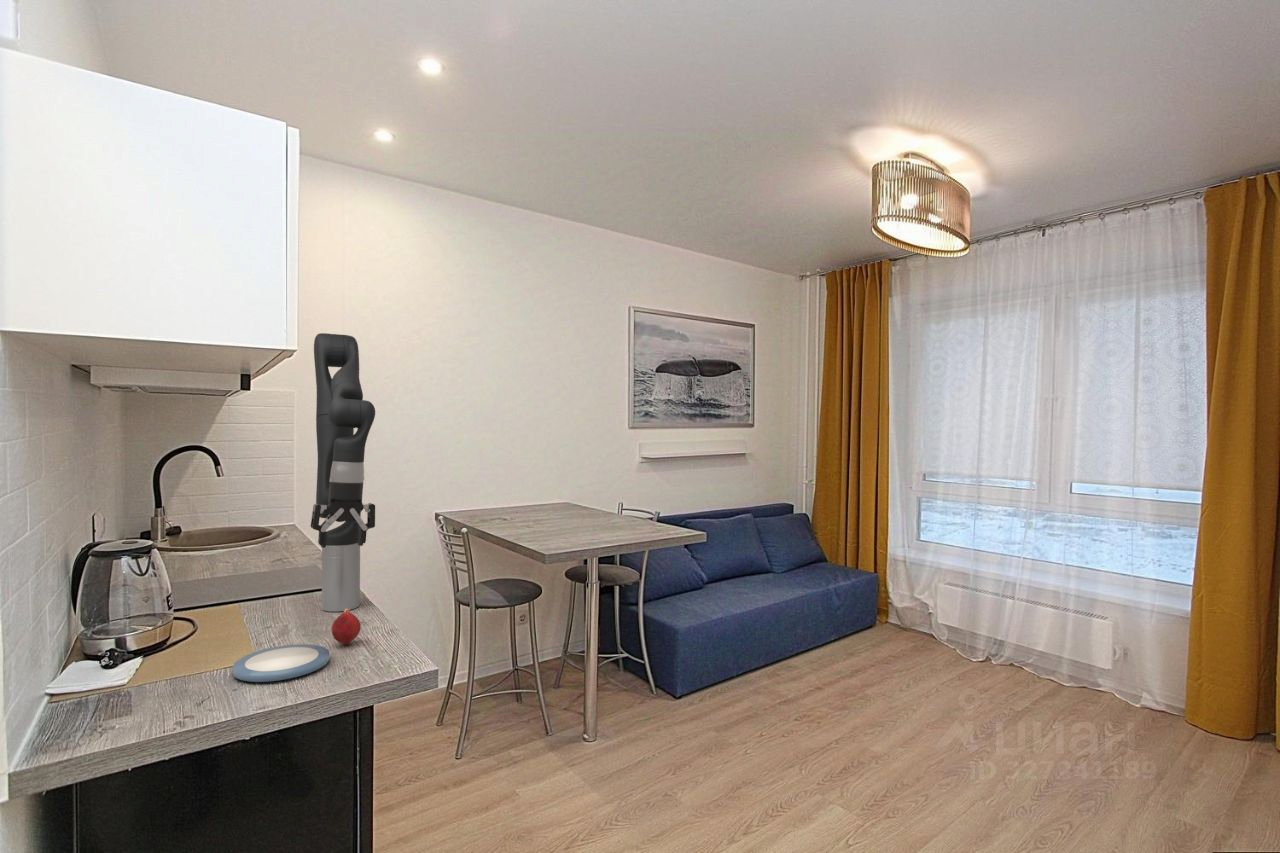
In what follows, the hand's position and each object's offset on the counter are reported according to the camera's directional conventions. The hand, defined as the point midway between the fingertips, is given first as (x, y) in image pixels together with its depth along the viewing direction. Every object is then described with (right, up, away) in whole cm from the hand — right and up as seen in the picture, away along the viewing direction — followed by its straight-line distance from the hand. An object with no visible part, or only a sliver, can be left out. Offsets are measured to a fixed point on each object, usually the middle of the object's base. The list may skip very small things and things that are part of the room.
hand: (341, 546), depth 158 cm
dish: (+1, -19, -28) cm, 34 cm away
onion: (+8, -20, -15) cm, 26 cm away
